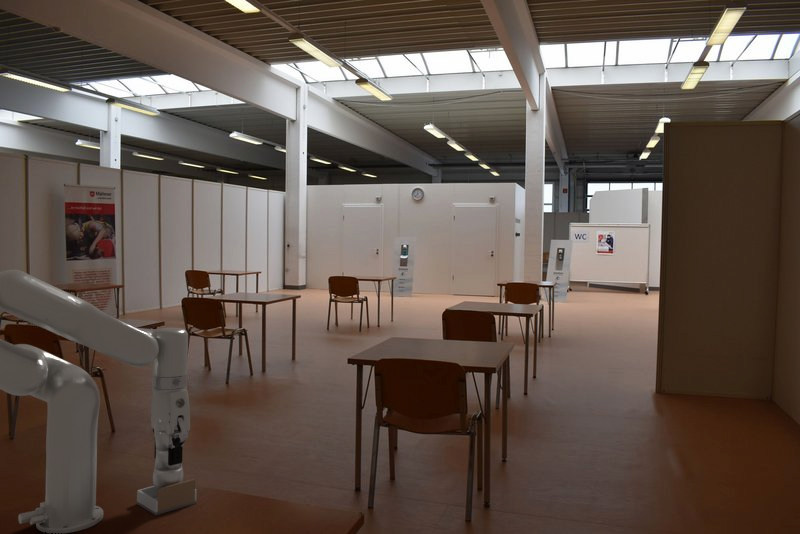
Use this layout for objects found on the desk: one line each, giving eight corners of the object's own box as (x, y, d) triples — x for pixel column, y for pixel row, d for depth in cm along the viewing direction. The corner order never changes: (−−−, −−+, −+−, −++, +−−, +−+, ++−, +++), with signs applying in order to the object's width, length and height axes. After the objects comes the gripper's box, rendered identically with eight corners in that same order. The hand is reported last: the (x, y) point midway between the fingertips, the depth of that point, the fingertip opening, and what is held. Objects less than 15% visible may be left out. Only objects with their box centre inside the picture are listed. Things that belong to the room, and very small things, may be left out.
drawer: (155, 515, 136) (156, 490, 136) (136, 503, 142) (137, 479, 142) (196, 502, 143) (197, 478, 143) (176, 492, 149) (177, 469, 149)
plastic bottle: (173, 494, 139) (175, 406, 138) (146, 491, 140) (148, 403, 140) (188, 484, 145) (190, 399, 145) (162, 481, 146) (164, 397, 146)
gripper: (204, 386, 139) (203, 466, 140) (166, 374, 150) (165, 448, 151) (173, 391, 134) (171, 474, 134) (136, 378, 145) (134, 455, 145)
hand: (168, 460), depth 142 cm, fingers closed on plastic bottle, 5 cm apart
